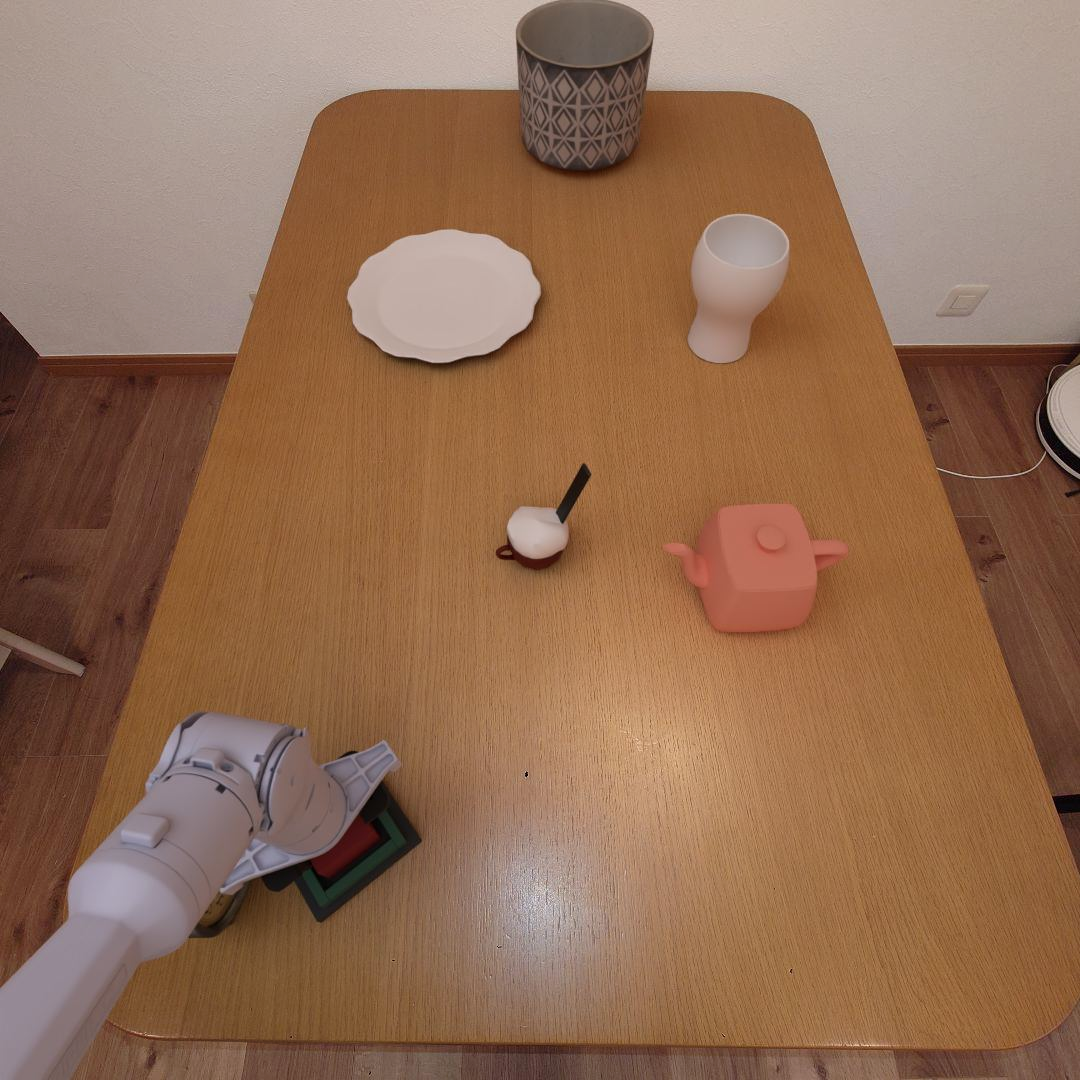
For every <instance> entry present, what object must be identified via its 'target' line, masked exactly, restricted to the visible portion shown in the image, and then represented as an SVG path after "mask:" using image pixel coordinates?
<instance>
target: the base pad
mask: <svg viewBox="0 0 1080 1080" xmlns="http://www.w3.org/2000/svg"><path fill="white" fill-rule="evenodd" d="M380 783H381V785H382V786H383V788H384V789H385V791H386V792H387V794H388V796H389V800H390V805H389V807H388V808H387V809H386V810H385V811H384V812H383V813H381V814H380V815H379V816H378V817H376V818H375V819H374V820H372V821H371V822H372V823H373V825H374V827H375V828H376V830H377V831H378V833H379V834H380V836H381V837H382V840H380V841H379V842H378V843H377V844H375V845H374V846H373V847H372V848H370V849H369V850H368V851H366V852H365V853H364V854H363V855H361V856H360V857H359V858H358V859H356V860H355V861H354V862H353V863H351V864H350V865H349V866H347V867H346V868H345V869H344V870H342V871H341V872H340V873H339V874H337V875H336V876H335V877H334V878H332V879H330V878H327V877H325V876H322V875H319V874H318V873H317V871H316V870H315V868H314V866H313V867H312V868H310V869H309V870H306V871H304V872H303V874H302V876H300V877H299V878H298V879H296V880H295V881H294V882H293V883H294V884H295V886H296V888H297V889H298V891H299V892H300V894H301V896H302V898H303V900H304V901H305V903H306V905H307V907H308V908H309V910H310V912H311V914H312V915H313V917H314V919H315V921H316V922H317V923H320V924H322V923H323V922H325V920H327V919H328V918H329V917H330V916H332V915H333V914H334V913H336V911H338V910H339V909H341V907H343V906H344V905H346V903H348V902H349V901H350V900H351V899H353V898H354V897H356V896H357V895H358V894H359V893H360V892H361V891H363V890H364V889H365V888H367V886H369V885H371V883H373V882H374V881H375V880H376V879H378V878H379V877H380V876H381V875H383V873H385V872H386V871H387V870H389V869H390V868H391V867H393V865H395V864H396V863H397V862H399V861H400V860H401V859H402V858H404V857H405V856H406V855H408V853H410V852H411V851H412V850H413V849H415V848H417V846H418V845H420V844H421V843H422V842H423V839H422V837H421V836H420V835H419V833H418V832H417V830H416V829H415V828H414V826H413V824H412V823H411V822H410V820H409V818H408V817H407V815H406V814H405V812H404V811H403V809H402V808H401V806H400V805H399V804H398V802H397V800H396V799H395V798H394V796H393V794H392V793H391V791H390V790H389V788H388V787H387V785H386V783H385V782H384V781H383V779H382V780H381V782H380Z"/></svg>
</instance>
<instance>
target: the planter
mask: <svg viewBox="0 0 1080 1080" xmlns="http://www.w3.org/2000/svg"><path fill="white" fill-rule="evenodd" d="M654 38H655V31H654V27H653V24H652V23H651V22H650V20H649V19H648V18H647V16H645V15H644V14H643V13H641V12H640V11H638V10H636V9H635V8H633V7H631V6H629V5H626V4H624V3H621V2H617V1H614V0H553V1H549V2H547V3H544V4H542V5H541V4H540V5H538V6H536V7H534V8H533V9H531V10H530V11H527V12H526V14H524V15H523V16H522V17H521V18H520V20H519V21H518V23H517V25H516V28H515V43H516V64H517V81H518V102H519V118H520V119H519V120H520V136H521V141H522V144H523V146H524V148H525V149H526V151H527V152H528V153H529V154H530V155H531V156H532V157H533V158H534V159H536V160H537V161H539V162H540V163H543V164H544V165H547V166H548V167H552V168H556V169H559V170H563V171H564V170H565V171H570V172H592V171H598V170H599V171H600V170H603V169H608V168H610V167H614V166H615V165H618V164H620V163H621V162H623V161H625V160H626V159H627V158H629V157H630V156H631V155H632V154H633V152H634V151H635V149H636V148H637V146H638V144H639V141H640V135H641V128H642V121H643V114H644V109H645V108H644V107H645V101H646V100H645V99H646V94H647V87H648V79H649V73H650V66H651V60H652V52H653V45H654V40H655V39H654Z"/></svg>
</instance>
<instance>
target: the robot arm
mask: <svg viewBox="0 0 1080 1080" xmlns="http://www.w3.org/2000/svg"><path fill="white" fill-rule="evenodd" d="M401 767H403V763H402V761H401V760H400V759H399V757H398V756H397V755H396V753H395V752H394V750H393V749H392V747H391V746H390V744H389V743H388V742H387V740H386V739H382V740H381V741H379V742H377V744H374V745H373V746H371V747H369V748H367V749H363V750H362V751H358V750H349V751H346V752H345V753H343V754H342V755H340V756H339V757H337V758H336V759H335V760H331V761H329V762H325V763H323V764H320V765H318V763H317V762H316V761H314V760H313V755H312V737H311V733H310V731H309V729H308V727H307V726H304V727H303V729H302V728H298V727H295V726H294V725H290V724H287V723H286V724H285V723H280V722H275V721H269V720H264V719H263V720H262V719H257V718H252V717H247V716H242V715H241V716H240V715H236V714H230V713H225V712H219V711H210V712H207V711H204V710H197V711H194V712H192V713H190V714H189V715H188V716H186V717H185V718H184V719H183V720H182V721H180V722H179V723H177V725H176V726H175V728H174V729H173V731H172V732H171V734H170V735H169V737H168V739H167V741H166V743H165V745H164V747H163V749H162V752H161V754H160V758H159V760H158V762H157V763H156V765H155V767H154V769H153V770H152V771H151V772H150V773H149V774H148V775H149V776H148V779H147V781H145V784H144V786H145V787H144V788H145V793H146V794H145V795H144V796H143V797H142V798H141V799H140V800H139V802H138V803H137V804H136V805H135V806H134V807H133V808H132V809H131V810H130V812H129V813H128V814H127V815H125V817H124V818H123V819H122V821H120V822H119V824H118V825H117V826H116V827H115V828H114V829H113V830H112V832H110V833H109V834H108V836H107V837H106V838H105V839H104V840H103V842H101V843H100V845H98V847H96V848H95V850H94V851H93V852H92V853H91V854H90V855H89V856H88V858H87V859H86V860H84V862H83V863H82V864H81V865H80V866H79V868H78V869H77V870H76V871H75V872H74V874H73V875H72V877H71V878H70V881H69V883H68V885H67V886H68V887H67V906H68V907H67V908H68V916H67V920H66V921H65V922H64V923H63V924H62V925H61V926H60V927H59V928H58V929H57V930H56V931H55V932H54V933H53V934H52V935H51V936H50V937H49V938H48V939H47V940H46V941H45V942H44V943H43V944H42V945H41V946H40V947H39V948H38V949H37V950H36V952H34V953H33V955H32V956H30V957H29V958H28V960H26V962H24V963H23V964H22V966H20V967H19V968H18V969H17V970H16V972H14V974H12V975H11V977H9V978H8V979H7V980H6V982H5V983H3V985H1V986H0V1080H71V1078H72V1077H73V1075H74V1073H75V1072H76V1070H77V1068H78V1067H79V1065H80V1064H81V1062H82V1060H83V1059H84V1057H85V1056H86V1053H87V1052H88V1050H89V1049H90V1047H91V1045H92V1044H93V1042H94V1040H95V1039H96V1037H97V1036H98V1034H99V1032H100V1030H101V1029H102V1027H103V1025H104V1024H105V1022H106V1020H107V1019H108V1017H109V1016H110V1013H111V1012H112V1011H113V1009H114V1007H115V1005H116V1004H117V1002H118V1001H119V999H120V998H121V995H122V994H123V992H124V991H125V989H126V987H127V985H128V984H129V982H130V981H131V979H132V977H133V975H134V973H135V972H136V971H137V969H138V968H139V966H140V964H143V963H146V962H149V961H152V960H156V959H159V958H163V957H165V956H168V955H170V954H172V953H174V952H176V951H177V950H179V949H180V948H181V947H182V946H183V945H184V944H185V943H186V941H187V940H188V939H189V938H188V937H189V935H190V934H191V932H192V931H193V929H194V928H195V926H196V925H197V923H198V922H199V920H200V919H201V917H202V916H203V914H204V913H205V911H206V910H207V908H208V907H209V905H210V904H211V902H212V901H213V899H214V898H215V896H216V895H217V893H218V892H219V890H220V892H221V893H223V894H228V895H233V894H234V893H235V892H237V891H238V890H239V889H241V888H242V887H243V884H244V882H246V881H249V880H251V881H252V880H253V879H257V878H260V879H261V880H262V882H263V884H264V887H266V889H267V890H268V891H270V892H273V893H280V892H282V891H284V890H285V889H286V888H288V887H289V886H290V885H291V884H293V883H295V882H294V881H295V880H296V879H298V878H299V877H300V876H302V874H303V872H304V871H306V870H309V869H310V868H312V867H313V864H312V863H311V861H310V859H311V858H314V857H317V856H319V855H322V854H324V853H325V852H327V851H329V850H330V849H331V848H332V847H334V846H335V845H336V844H337V843H338V841H339V840H340V839H341V838H342V836H343V835H344V833H345V832H346V831H347V829H348V828H349V826H350V825H351V823H352V822H353V820H354V819H355V818H356V816H357V815H358V813H359V815H360V816H361V818H362V819H363V821H364V823H365V824H366V825H367V824H369V823H370V822H371V821H372V820H374V819H375V818H376V817H378V816H379V815H380V814H381V813H383V812H384V811H385V810H386V809H387V808H388V807H389V805H390V800H389V796H388V794H387V792H386V791H385V789H384V788H383V786H382V785H381V783H380V782H381V780H382V781H383V779H384V778H385V777H386V776H387V775H388V773H391V774H392V773H395V772H397V770H399V769H400V768H401Z"/></svg>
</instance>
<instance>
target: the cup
mask: <svg viewBox="0 0 1080 1080" xmlns="http://www.w3.org/2000/svg"><path fill="white" fill-rule="evenodd" d="M790 248H791V247H790V239H789V238H788V236H787V234H786V232H785V231H784V230H783V229H782V228H781V227H780V226H779V225H778V224H776V223H775V222H773V221H771V219H767V218H765V217H762V216H759V215H755V214H751V213H732V214H726V215H723V216H720V217H717V218H716V219H714V220H712V221H711V222H710V223H709V224H708V225H707V226H706V227H705V229H704V230H703V232H702V234H701V237H700V238H699V240H698V242H697V245H696V246H695V249H694V252H693V256H692V260H691V265H690V277H691V286H692V292H693V294H694V297H695V299H696V303H697V307H696V309H697V310H696V315H695V317H694V319H693V322H692V323H691V326H690V328H689V332H688V334H687V344H688V347H689V349H690V350H691V351H692V353H693V354H695V356H697V357H699V358H701V359H702V360H704V361H707V362H711V363H714V364H729V363H733V362H736V361H738V360H739V359H741V358H742V357H744V356H745V354H746V353H747V352H748V349H749V344H750V339H751V330H752V325H753V323H754V321H755V320H756V318H757V316H758V315H759V314H760V313H762V312H763V311H764V310H766V309H767V308H768V306H769V305H770V304H771V302H772V301H773V300H774V298H775V297H776V296H777V294H778V293H779V292H780V291H781V289H782V286H783V284H784V281H785V278H786V277H787V272H788V269H789V263H790Z"/></svg>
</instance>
